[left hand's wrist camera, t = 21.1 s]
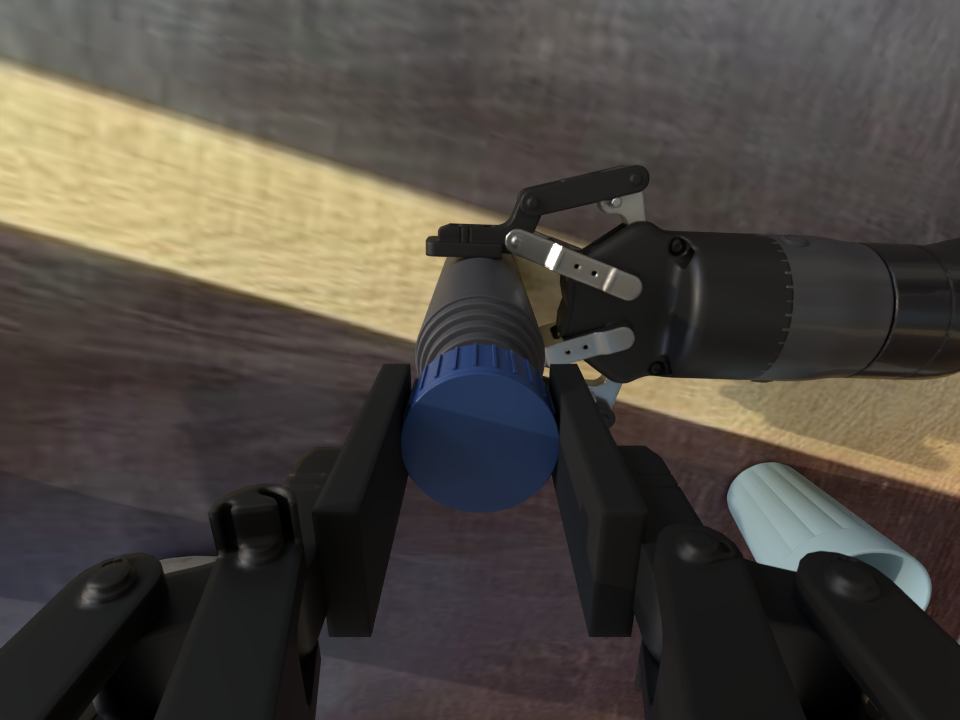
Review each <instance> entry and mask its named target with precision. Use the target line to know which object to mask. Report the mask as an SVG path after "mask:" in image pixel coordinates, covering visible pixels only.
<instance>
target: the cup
mask: <svg viewBox="0 0 960 720" xmlns="http://www.w3.org/2000/svg"><path fill="white" fill-rule="evenodd" d="M727 502H728V507H729V510H730V512H731V514H732V516H733V518H734V520H735V522H736V524H737V526H738V528H739V529H740V531H741V533H742V535H743V537H744V539H745V541H746V543H747V545H748V547H749V549H750V550H751V552H752V554H753V556H754V558H755V560H756V562H757V563H760V564H765V565H769V566H774V567H778V568H782V569H787V570H791V571H796V572H797V568H798V565H799V561H800V560H801V559H802V558H803V557H804V556H805V555H806V554H807V553H812V552H817V551H828V552H838V553H841V554H844V555H847V556H851V557H854V558H857V559H859V560H861V561H863V562H865V563H867V564H869V565H871V566H873V567H875V568H876V569H878V570H879V571H880V572H882V573H883V574H884V575H886V576H887V577H888V578H890V579H891V580H892V581H893V582H894V583H895V584H896V585H897V586H898V587H899V588H901V589H902V590H903V591H904V592H905V593H906V594H907V595H908V596H909V597H910V598H911V599H912V600H913V601H914V602H915V603H916V604H917V605H918V606H919V607H920V608H921V609H922V610H923V611H925V610H926V608H927V606H928V604H929V601H930V598H931V590H932V586H931V580H930V577H929V574H928V572H927V571H926V569H925V568H924V566H923V565H922V564H921V563H920V562H919V561H917V560H916V559H915V558H914V557H912V556H911V555H910V554H908V553H907V552H905V551H904V550H903V549H901V548H900V547H899V546H897V545H896V544H895V543H893V542H892V541H891V540H889V539H888V538H886V537H885V536H883V535H882V534H881V533H879V532H878V531H877V530H875V529H874V528H873V527H871V526H870V525H869V524H867V523H866V522H865V521H863V520H862V519H861V518H859V517H858V516H856V515H855V514H854V513H852V512H851V511H850V510H848V509H847V508H846V507H844V506H843V505H842V504H840V503H839V502H838V501H836V500H835V499H834V498H832V497H831V496H829V495H828V494H827V493H825V492H824V491H823V490H821V489H820V488H819V487H817V486H816V485H815V484H813V483H812V482H810V481H809V480H808V479H806V478H805V477H804V476H802V475H801V474H800V473H798V472H797V471H795V470H794V469H793V468H791V467H789V466H787V465H784V464H781V463H776V462H768V463H761V464H757V465H754V466H752V467H750V468H748V469H746V470H745V471H743V472H742V473H741V474H739V475H738V476H737V477H736V479H735V480H734V481H733V482H732V484H731V486H730V488H729V491H728V494H727Z"/></svg>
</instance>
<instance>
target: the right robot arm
mask: <svg viewBox="0 0 960 720" xmlns="http://www.w3.org/2000/svg"><path fill="white" fill-rule="evenodd" d="M648 183H649V173H648V171H647V170H646V168H644V167H643V166H639V165H621V166H617V167H613V168H608V169H604V170H600V171H596V172H591V173H587V174H583V175H579V176H575V177H570V178H566V179H562V180H558V181H553V182H549V183H545V184H541V185H536V186H532V187H528V188H524V189H523V190H521V191H520V192H519V194H518V196H517V203H516V205H515V207H514V210H513V212H512V215H511V217H510V218H509V220H508V221H506V222H505V223H503V224H501V225H481V224H453V223H450V224H447V225H444V226H442V227H440V228H439V230H438V236H429V237H428V238H427V239H426V255H427V256H437V257H465V258H494V259H502V254H515V255H517V256H520V257H522V258H525V259H527V260H530V261H532V262H535V263H537V264H540V265H543V266H545V267H547V268H548V269H550V270H552V271H554V272H557V273H559V274H561V275H560V287H561V292H562V300H561V303H560V305H559V308H558V311H557V319H556V322H554V323H551V324H547V325H544V326H541V327H539V329H540V332H541V335H542V338H543V341H544V346H545V364H544V367H547V368H550V364H569V363H573V362H576V361H580V360H584V361H585V362H587V363H588V364H589V365H590V366H592V367H593V368H594V369H596V370H597V371H598V372H600V373H601V374H602V375H601V376H600V377H599V378H597V379H595V380H589V379H585V382H586V384H587V386H588V388H589V390H590V392H591V394H592V396H593V398H594V400H595V402H596V404H597V406H598V408H599V410H600V412H601V415H602V417H603V419H604V421H605V423H606V425H607V427H608V428H610V427H611V426H612V425H613V424H614V422H615V415H614V413H613V411H612V406H613V404H614V402H615V399H616V397H617V395H618V392H619V390H620V388H621V386H622V383H628V382H631V381H633V380H635V379H638V378H641V377H644V376H661V377H671V378H703V379H735V380H751V381H754V382H764V383H765V382H771V381H805V380H816V379H824V378H863V379H893V380H926V379H936V378H941V377H946V376H950V375H953V374H955V373H958V372H960V238H956V239H951V240H947V241H942V242H938V243H934V244H929V245H924V246H922V245H908V244H883V243H854V242H844V241H838V240H833V239H828V238H821V237H815V236H801V235H769V234H744V233H715V232H686V231H667V230H662V229H660V228H659V227H657V226H656V225H654V224H653V223H651V222H647V221H646V212H645V202H644V193H643V190H644V189H645V188H646V187H647V185H648ZM596 202H597V206H598V208H599V209H600V210H601V211H603V212H605V213H608V214H618V215H619V216H620V217H621V218H622V221H623V223H622V224H620V225H619V226H617V227H615V228H614V229H612V230H611V231H609V232H608V233H606V234H605V235H603V236H602V237H600V238H599V239H597V240H595V241H594V242H592V243H591V244H589V245H588V246H586V247H585V248H583V249H581V248H579V247H576V246H574V245H571V244H569V243H566V242H564V241H561V240H559V239H556V238H554V237H550V236H547V235H544V234H542V233H539V232H537V231H535V229H536V226H537V224H538V222H539V219H540V217H541V215H544V214H549V213H553V212H557V211H562V210H566V209H570V208H575V207H579V206H583V205H588V204H592V203H596ZM558 333H559V334H558ZM567 350H568V351H567ZM542 379H543V381H544V383H545V386H548V387H549V377H545V376H542Z"/></svg>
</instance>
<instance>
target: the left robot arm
mask: <svg viewBox="0 0 960 720" xmlns="http://www.w3.org/2000/svg"><path fill="white" fill-rule="evenodd" d="M549 390H550V394H551V397H552V400H553V403H554V407H555V410H556V413H555V414H554V415H555V418H556V421H557V425H558V429H559V452H558V460H557V463H556V466H555V468H554V470H553V472H552V478H553V482H554V487H555V491H556V495H557V500H558V504H559V508H560V513H561V517H562V521H563V526H564V530H565V534H566V539H567V543H568V547H569V552H570V556H571V560H572V565H573V569H574V573H575V578H576V582H577V586H578V591H579V595H580V600H581V604H582V608H583V613H584V617H585V621H586V626H587V630H588V634H589V637H631V633H632V626H633V619H634V614H635V617H636V620H637V623H638V626H639V628H640V631H641V634H642V642H641V648H640V655H639V661H638V668H637V674H636V681H635V688H634V690H637V691H641V687H642V693H643V704H644V714H645V720H960V645H959V644H958V643H957V642H956V641H955V640H954V639H953V638H952V637H951V636H950V635H949V634H947V633H946V632H945V631H944V630H943V629H942V628H941V627H940V626H939V625H938V624H937V623H936V622H935V621H934V620H933V619H932V618H931V617H930V616H929V615H928V614H927V613H926V612H925V611H923V610H922V609H921V608H920V607H919V606H918V605H917V604H916V603H915V602H914V601H913V600H912V599H911V598H910V597H909V596H908V595H907V594H906V593H905V592H904V591H903V590H902V589H901V588H899V587H898V586H897V585H896V584H895V583H894V582H893V581H892V580H891V579H890V578H888V577H887V576H886V575H884V574H883V573H882V572H880V571H879V570H878V569H876V568H875V567H873V566H871V565H869V564H867V563H865V562H863V561H861V560H859V559H857V558H854V557H851V556H847V555H844V554H841V553H838V552H828V551H817V552H812V553H807V554H806V555H805V556H804V557H803V558H802V559H801V560H800V561H799V565H798V568H797V572H796V571H791V570H787V569H782V568H778V567H774V566H769V565H765V564H760V563H757V562H753V561H750V560H747V559H744V558H743V555H742V553H741V552H740V550H739V549H738V547H737V546H736V544H735V543H733V542H732V541H731V540H730V539H728V538H727V537H726V536H725V535H723V534H722V533H720V532H717V531H715V530H713V529H711V528H709V527H706V526H703V524H702V522H701V521H700V519H699V518H698V516H697V514H696V513H695V511H694V510H693V508H692V506H691V505H690V503H689V501H688V500H687V498H686V497H685V495H684V493H683V492H682V490H681V489H680V487H678V484H677V482H676V480H675V479H674V477H673V476H672V475H670V471H669V469H668V468H667V466H666V464H665V463H664V461H663V459H662V458H661V457H660V456H658V455H657V454H656V453H654V452H653V451H651V450H650V449H649V448H647V447H646V446H617V445H616V443H615V441H614V439H613V437H612V435H611V433H610V431H609V429H608V427H607V425H606V423H605V421H604V419H603V417H602V415H601V412H600V410H599V408H598V406H597V404H596V402H595V400H594V398H593V396H592V394H591V392H590V390H589V388H588V386H587V384H586V382H585V380H584V377H583V375H582V373H581V371H580V369H579V367H578V365H577V364H550V374H549ZM411 391H412V390H411V371H410V364H383V365H382V368H381V370H380V372H379V374H378V376H377V378H376V380H375V382H374V384H373V386H372V388H371V390H370V392H369V394H368V396H367V398H366V400H365V403H364V405H363V407H362V409H361V411H360V413H359V415H358V417H357V419H356V421H355V423H354V425H353V427H352V429H351V431H350V433H349V436H348V438H347V440H346V442H345V444H344V446H343V447H315V448H314V449H312V450H311V451H310V452H308V453H307V454H306V455H304V456H303V457H302V458H300V459H299V460H298V462H297V463H296V465H295V467H294V468H293V470H292V472H291V473H290V477H288V478H287V480H286V481H285V483H284V485H279V484H258V485H253V486H248V487H244V488H242V489H239V490H237V491H234V492H232V493H230V494H228V495H226V496H225V497H224V498H222V499H221V500H219V501H218V502H216V503H215V505H214V506H213V507H212V508H211V510H210V511H209V512H208V516H209V520H210V524H211V528H212V533H213V537H214V541H215V546H216V550H217V554H218V556H217V558H216V561H214V562H211V563H207V564H204V565H200V566H196V567H192V568H187V569H183V570H178V571H174V572H170V573H165V574H164V571H163V568H162V564H161V562H160V561H159V560H158V559H157V558H156V557H155V556H153V555H148V554H144V553H134V554H125V555H120V556H117V557H114V558H111V559H108V560H104V561H102V562H100V563H98V564H96V565H94V566H93V567H91V568H89V569H87V570H85V571H84V572H82V573H81V574H80V575H78V576H77V577H76V578H74V579H73V580H72V581H71V582H69V583H68V584H67V585H66V586H65V587H64V588H63V589H62V590H61V591H60V592H59V593H58V594H57V595H56V596H55V597H54V598H53V599H52V600H51V601H50V602H48V603H47V604H46V605H45V606H44V607H43V608H42V609H41V610H40V611H39V612H38V613H37V614H36V615H35V616H34V617H33V618H32V619H31V620H30V621H29V622H28V623H27V624H26V625H25V626H24V627H23V628H22V629H21V630H19V631H18V632H17V633H16V634H15V635H14V636H13V637H12V638H11V639H10V640H9V641H8V642H7V643H6V644H5V645H4V646H3V647H2V648H1V649H0V720H315V715H316V705H317V695H318V684H319V674H320V664H321V656H320V648H319V642H318V637H319V635H320V632H321V629H322V626H323V623H324V620H325V617H326V618H327V625H328V632H329V637H371V635H372V631H373V626H374V622H375V618H376V613H377V609H378V605H379V600H380V596H381V592H382V587H383V583H384V579H385V574H386V570H387V566H388V561H389V557H390V553H391V548H392V544H393V540H394V535H395V531H396V527H397V522H398V518H399V514H400V509H401V505H402V501H403V496H404V492H405V488H406V483H407V479H408V475H409V474H408V472H407V470H406V468H405V465H404V462H403V459H402V449H401V430H402V426H403V417H404V413H405V410H406V407H407V404H408V400H409V397H410V394H411ZM869 699H870V701H871V702H872V703H873V704H872V703H871V702H870V701H869ZM90 703H91V704H90ZM873 705H874V706H875V707H876V708H875V707H874V706H873ZM87 707H88V708H87ZM876 709H877V710H878V711H879V712H880V713H879V712H878V711H877V710H876ZM84 711H85V712H84Z"/></svg>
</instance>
